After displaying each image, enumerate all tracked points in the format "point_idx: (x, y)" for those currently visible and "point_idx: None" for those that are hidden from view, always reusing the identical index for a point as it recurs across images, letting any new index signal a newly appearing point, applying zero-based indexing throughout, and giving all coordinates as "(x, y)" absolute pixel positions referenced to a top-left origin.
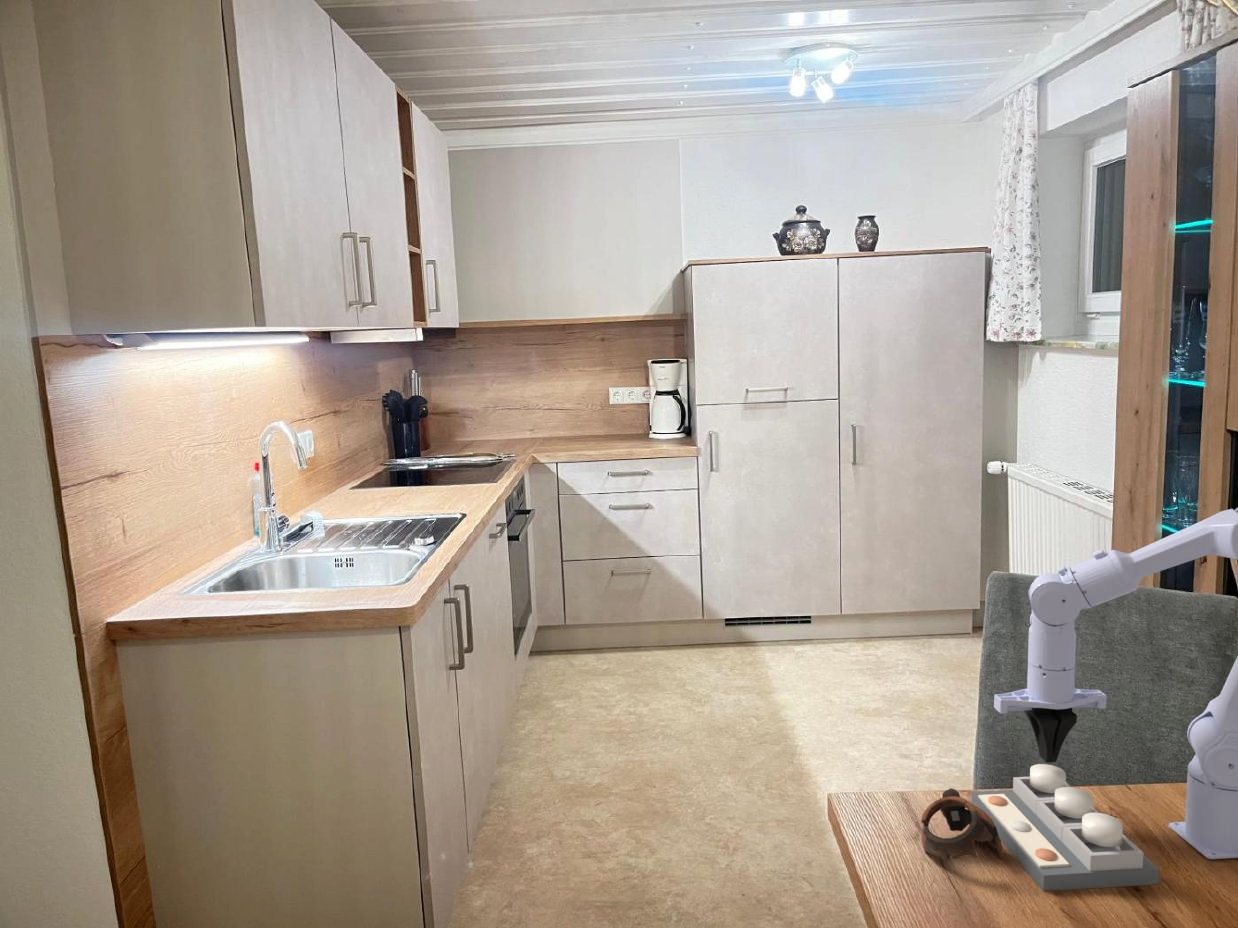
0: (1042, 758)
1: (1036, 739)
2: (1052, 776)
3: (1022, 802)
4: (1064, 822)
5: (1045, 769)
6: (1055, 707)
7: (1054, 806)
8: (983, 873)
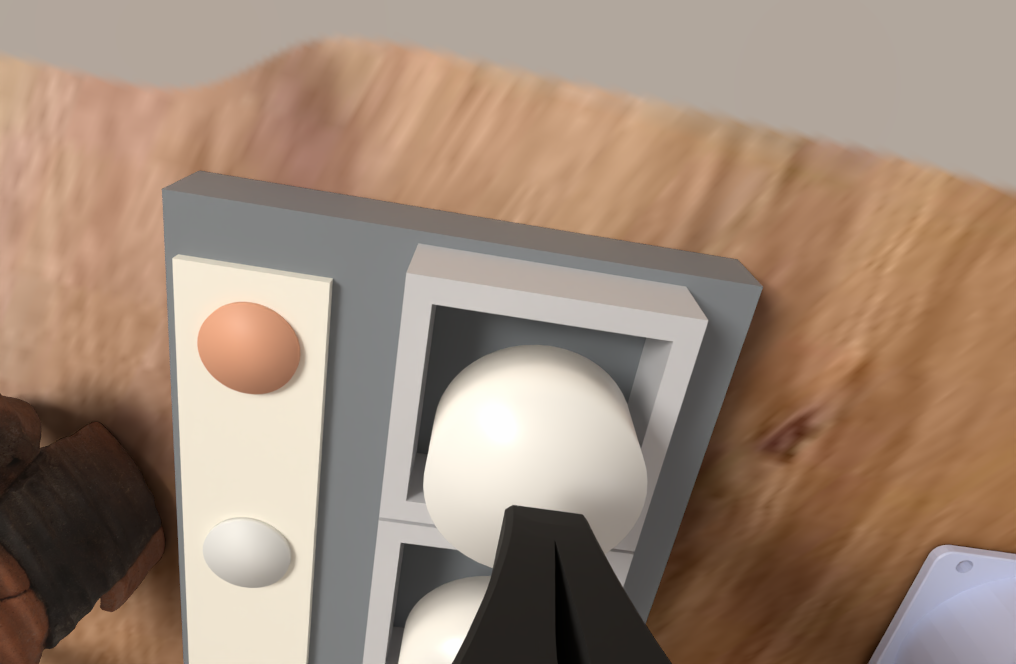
0: (498, 544)
1: (485, 594)
2: None
3: (395, 361)
4: None
5: (539, 464)
6: None
7: (411, 613)
8: None
